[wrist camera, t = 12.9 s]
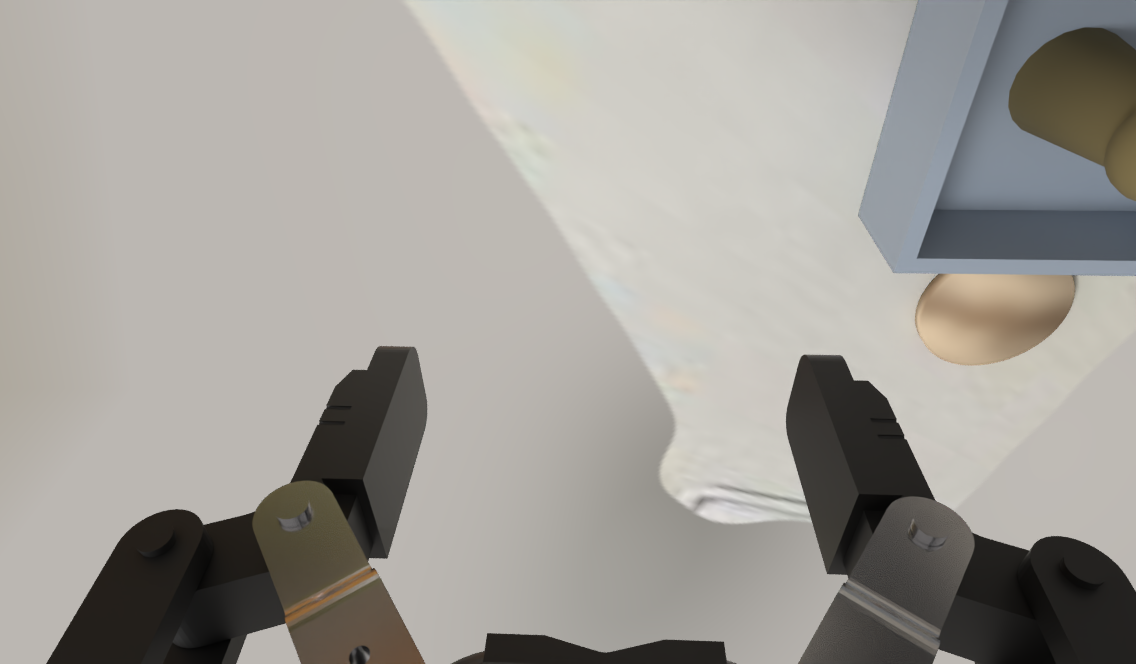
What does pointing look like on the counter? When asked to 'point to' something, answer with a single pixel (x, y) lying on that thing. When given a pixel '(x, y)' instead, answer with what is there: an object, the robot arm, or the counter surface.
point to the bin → (991, 152)
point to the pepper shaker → (1083, 100)
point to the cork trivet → (991, 314)
